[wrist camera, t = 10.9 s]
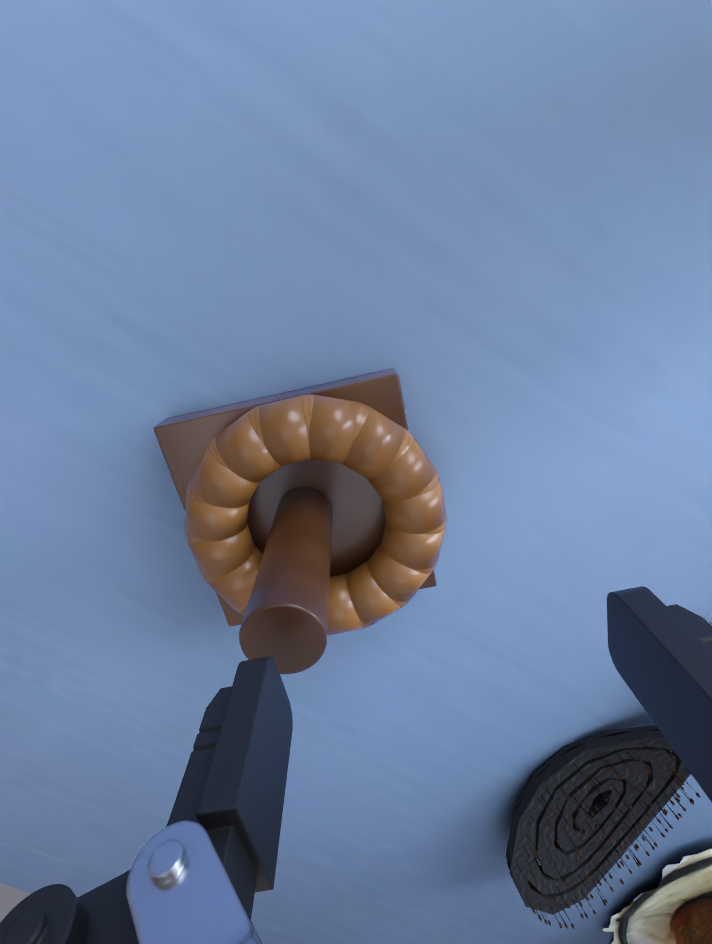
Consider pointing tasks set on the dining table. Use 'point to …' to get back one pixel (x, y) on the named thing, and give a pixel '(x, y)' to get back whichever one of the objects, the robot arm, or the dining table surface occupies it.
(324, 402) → the donut
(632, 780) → the hairbrush
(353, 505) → the peg stand
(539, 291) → the dining table surface
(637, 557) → the dining table surface
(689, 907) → the decorative vase
